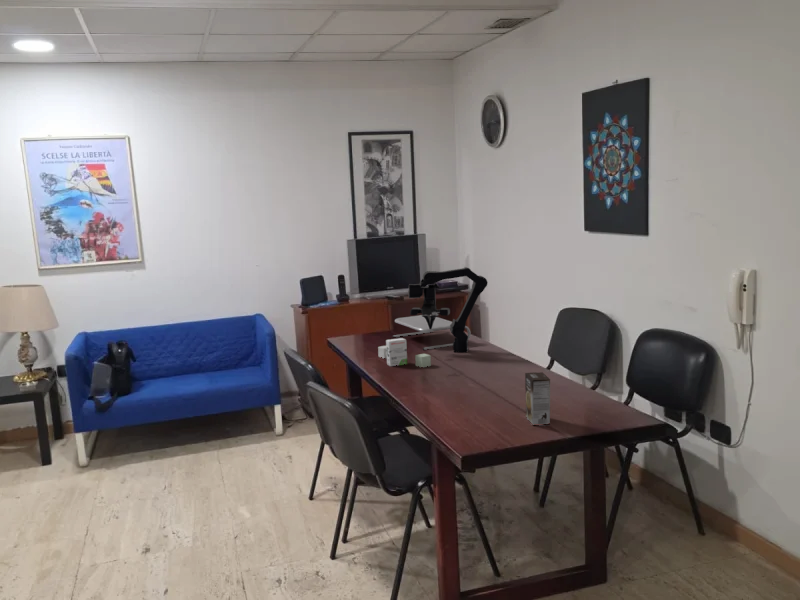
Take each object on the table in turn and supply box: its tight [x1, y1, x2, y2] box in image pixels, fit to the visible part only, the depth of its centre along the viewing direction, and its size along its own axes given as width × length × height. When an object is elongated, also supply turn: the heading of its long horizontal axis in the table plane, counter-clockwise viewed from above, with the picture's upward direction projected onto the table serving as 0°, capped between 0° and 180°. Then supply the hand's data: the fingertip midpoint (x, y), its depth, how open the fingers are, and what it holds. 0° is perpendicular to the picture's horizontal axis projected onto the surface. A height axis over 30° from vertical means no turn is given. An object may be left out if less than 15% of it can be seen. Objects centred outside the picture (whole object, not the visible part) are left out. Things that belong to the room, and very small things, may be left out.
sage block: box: [414, 353, 432, 368], centre depth 319 cm, size 5×5×5 cm
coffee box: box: [524, 371, 551, 425], centre depth 238 cm, size 9×6×16 cm
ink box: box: [385, 337, 408, 367], centre depth 322 cm, size 9×5×12 cm, turn 111°
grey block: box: [377, 345, 387, 359], centre depth 338 cm, size 5×5×5 cm
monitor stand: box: [392, 314, 472, 351], centre depth 371 cm, size 37×28×11 cm
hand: (430, 328), depth 341 cm, fingers closed
